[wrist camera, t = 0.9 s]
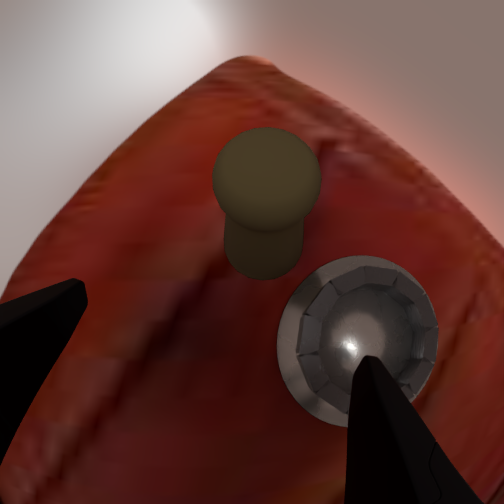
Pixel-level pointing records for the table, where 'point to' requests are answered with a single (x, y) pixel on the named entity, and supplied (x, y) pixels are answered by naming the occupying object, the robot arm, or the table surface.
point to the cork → (265, 199)
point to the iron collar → (354, 333)
